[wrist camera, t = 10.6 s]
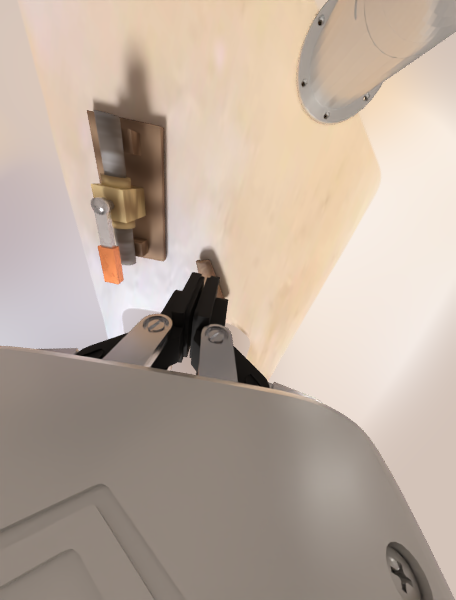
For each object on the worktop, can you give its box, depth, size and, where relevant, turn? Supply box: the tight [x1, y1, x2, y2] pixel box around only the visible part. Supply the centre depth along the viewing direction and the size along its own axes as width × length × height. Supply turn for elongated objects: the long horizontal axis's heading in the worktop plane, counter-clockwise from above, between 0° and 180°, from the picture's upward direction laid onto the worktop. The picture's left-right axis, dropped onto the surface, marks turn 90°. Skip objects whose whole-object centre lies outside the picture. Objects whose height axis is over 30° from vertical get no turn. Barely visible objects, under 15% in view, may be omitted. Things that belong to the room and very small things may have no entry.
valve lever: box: [91, 197, 123, 284], centre depth 32 cm, size 3×15×2 cm, turn 169°
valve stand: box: [87, 110, 166, 265], centre depth 34 cm, size 24×12×10 cm, turn 170°
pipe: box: [196, 260, 225, 299], centre depth 47 cm, size 6×17×10 cm
